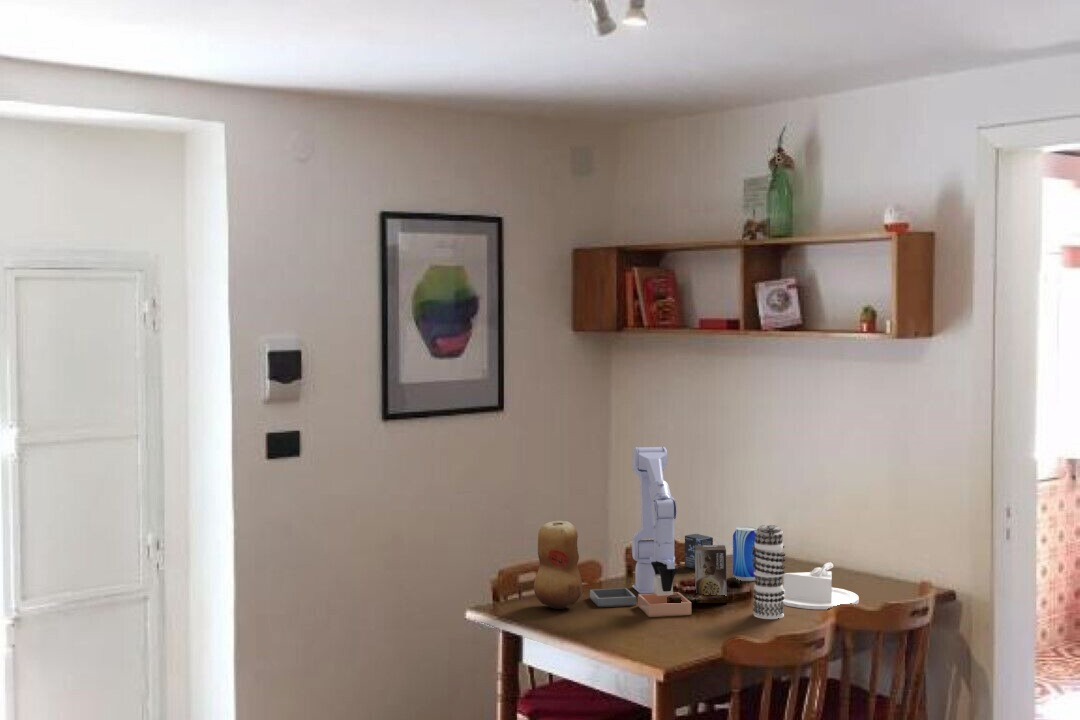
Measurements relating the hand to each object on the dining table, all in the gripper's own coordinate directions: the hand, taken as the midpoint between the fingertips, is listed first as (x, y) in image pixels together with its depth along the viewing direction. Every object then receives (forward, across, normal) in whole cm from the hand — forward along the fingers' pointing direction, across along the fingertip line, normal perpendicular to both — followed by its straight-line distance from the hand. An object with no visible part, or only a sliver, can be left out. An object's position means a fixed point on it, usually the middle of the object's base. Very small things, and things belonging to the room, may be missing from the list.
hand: (664, 589), depth 353 cm
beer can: (+6, -33, +36) cm, 49 cm away
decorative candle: (+6, +11, +27) cm, 30 cm away
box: (+6, -51, +26) cm, 58 cm away
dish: (+7, -4, +47) cm, 48 cm away
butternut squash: (+6, -9, -29) cm, 31 cm away
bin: (+6, 0, 0) cm, 6 cm away
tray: (+6, -13, -12) cm, 19 cm away
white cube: (+1, 0, 0) cm, 1 cm away
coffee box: (+6, -7, +16) cm, 19 cm away
